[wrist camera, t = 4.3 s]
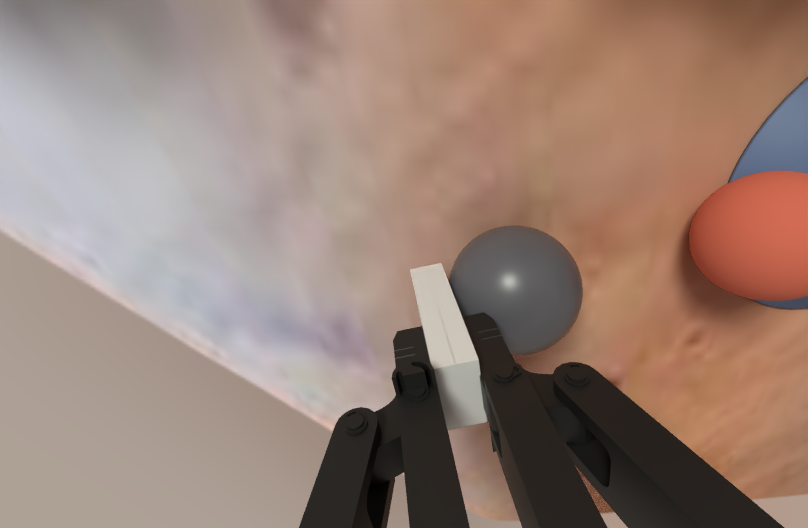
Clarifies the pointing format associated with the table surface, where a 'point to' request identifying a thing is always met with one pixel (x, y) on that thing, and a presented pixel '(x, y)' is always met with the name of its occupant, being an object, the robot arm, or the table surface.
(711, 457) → the table surface
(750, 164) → the blue plate
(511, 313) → the dark grey sphere
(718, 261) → the red ball
